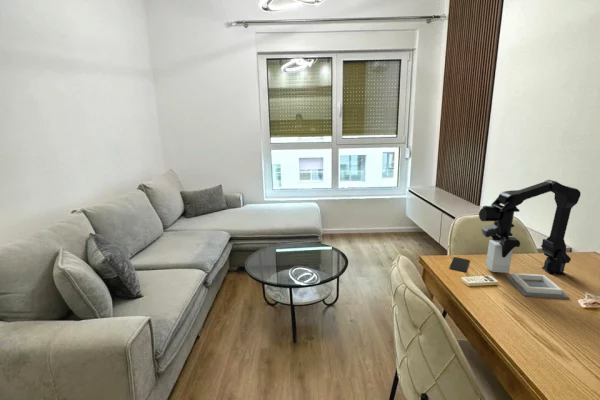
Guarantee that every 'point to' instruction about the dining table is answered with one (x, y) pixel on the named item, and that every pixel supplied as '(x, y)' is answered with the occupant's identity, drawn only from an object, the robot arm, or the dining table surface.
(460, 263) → the smartphone
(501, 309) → the dining table surface
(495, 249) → the supplement box
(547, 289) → the dock
